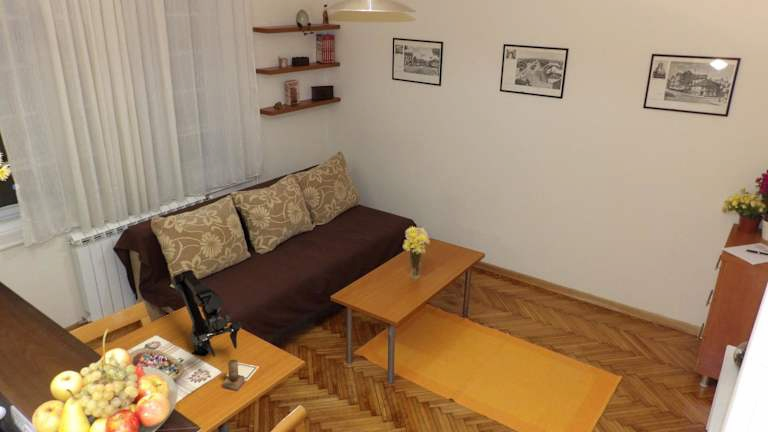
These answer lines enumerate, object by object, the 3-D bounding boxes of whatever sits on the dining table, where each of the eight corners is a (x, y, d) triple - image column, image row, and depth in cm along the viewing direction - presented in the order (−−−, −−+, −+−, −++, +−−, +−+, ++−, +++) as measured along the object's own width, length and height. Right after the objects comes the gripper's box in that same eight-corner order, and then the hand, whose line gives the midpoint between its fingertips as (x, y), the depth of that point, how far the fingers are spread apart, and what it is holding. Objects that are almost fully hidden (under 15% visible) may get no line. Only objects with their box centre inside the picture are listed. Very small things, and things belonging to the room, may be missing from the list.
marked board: (225, 377, 233) (225, 375, 233) (238, 364, 242) (237, 362, 242) (247, 382, 231) (247, 380, 230) (259, 368, 240) (259, 366, 239)
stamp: (223, 388, 225) (222, 364, 221) (231, 379, 230) (229, 356, 227) (237, 391, 224) (235, 367, 220) (244, 382, 229) (243, 359, 225)
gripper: (194, 317, 220) (208, 354, 216) (238, 304, 232) (252, 339, 227) (188, 326, 229) (201, 362, 224) (231, 313, 240) (244, 347, 236)
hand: (225, 352), depth 228 cm, fingers open, 9 cm apart
